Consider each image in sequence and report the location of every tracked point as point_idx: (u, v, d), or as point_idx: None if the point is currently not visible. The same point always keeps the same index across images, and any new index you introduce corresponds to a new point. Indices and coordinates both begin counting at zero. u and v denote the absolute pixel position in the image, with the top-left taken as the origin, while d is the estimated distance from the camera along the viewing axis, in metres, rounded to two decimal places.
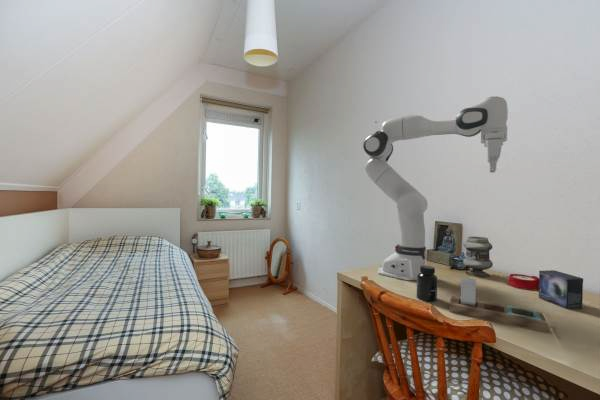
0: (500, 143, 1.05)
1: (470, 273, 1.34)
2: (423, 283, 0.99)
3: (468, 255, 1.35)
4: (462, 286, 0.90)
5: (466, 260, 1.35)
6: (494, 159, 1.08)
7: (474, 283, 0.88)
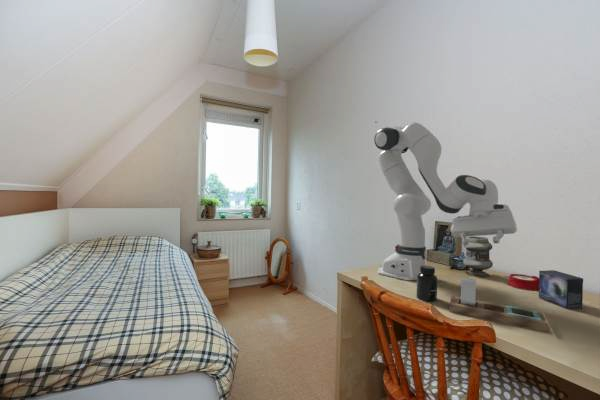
0: (515, 222, 0.97)
1: (470, 273, 1.34)
2: (423, 283, 0.99)
3: (468, 255, 1.35)
4: (462, 286, 0.90)
5: (466, 260, 1.35)
6: (502, 232, 0.95)
7: (474, 283, 0.88)
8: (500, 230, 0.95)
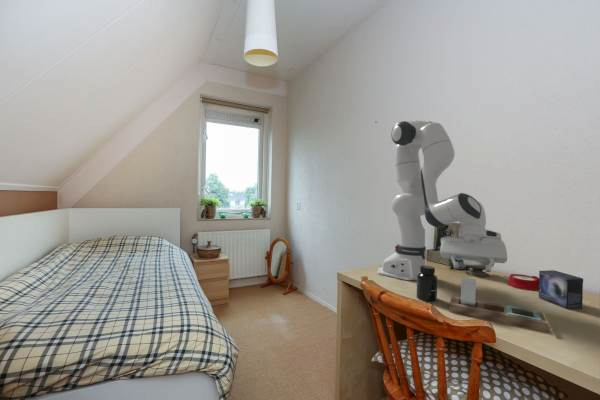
0: None
1: (470, 273, 1.34)
2: (423, 283, 0.99)
3: None
4: (462, 286, 0.90)
5: (466, 260, 1.35)
6: None
7: (474, 283, 0.88)
8: (493, 259, 0.94)
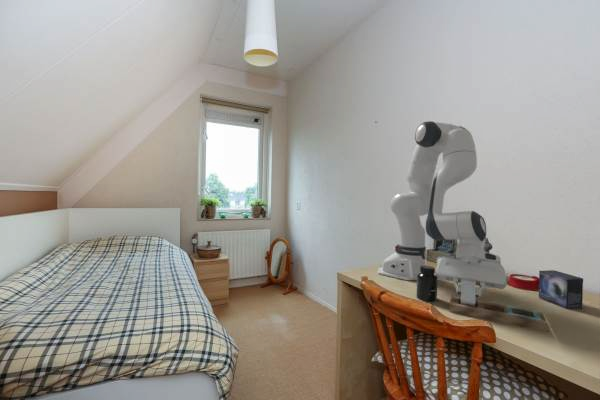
0: None
1: None
2: (423, 283, 0.99)
3: None
4: (462, 286, 0.90)
5: None
6: (485, 285, 0.90)
7: (474, 283, 0.88)
8: (483, 283, 0.90)
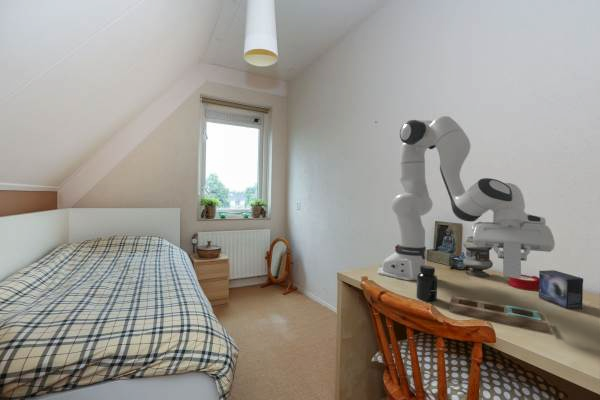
0: None
1: (470, 273, 1.34)
2: (423, 283, 0.99)
3: (468, 255, 1.35)
4: (505, 249, 0.83)
5: (466, 260, 1.35)
6: None
7: (519, 245, 0.82)
8: (528, 246, 0.83)
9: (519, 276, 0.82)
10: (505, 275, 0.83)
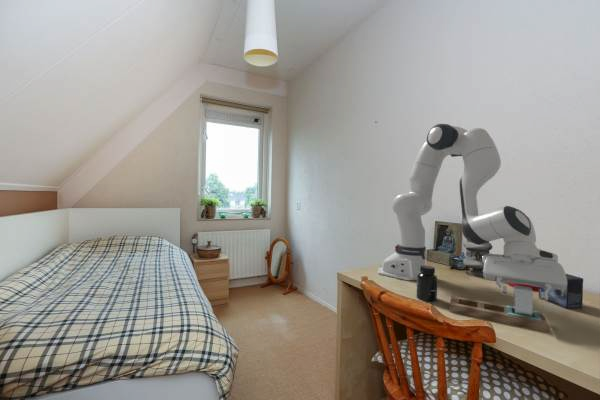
0: None
1: (470, 273, 1.34)
2: (423, 283, 0.99)
3: (468, 255, 1.35)
4: (517, 295, 0.82)
5: (466, 260, 1.35)
6: None
7: (531, 292, 0.81)
8: (549, 285, 0.81)
9: None
10: None
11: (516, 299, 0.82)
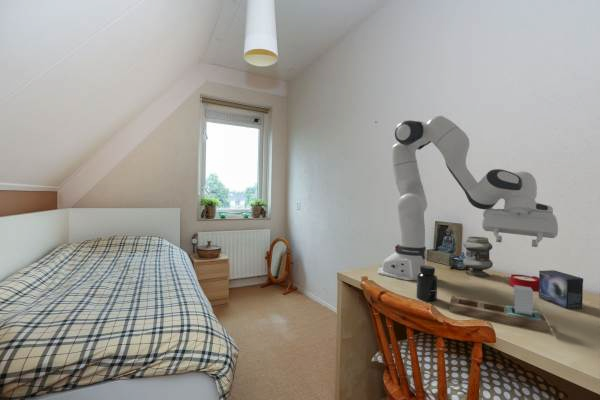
0: None
1: (470, 273, 1.34)
2: (423, 283, 0.99)
3: (468, 255, 1.35)
4: (517, 295, 0.82)
5: (466, 260, 1.35)
6: None
7: (531, 292, 0.81)
8: (541, 234, 0.90)
9: None
10: None
11: (516, 299, 0.82)
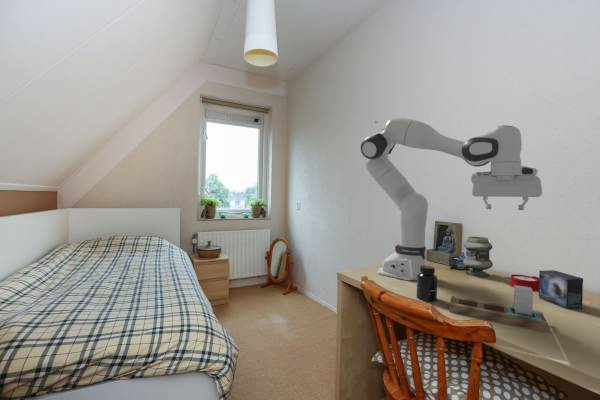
0: None
1: (470, 273, 1.34)
2: (423, 283, 0.99)
3: (468, 255, 1.35)
4: (517, 295, 0.82)
5: (466, 260, 1.35)
6: (527, 198, 0.97)
7: (531, 292, 0.81)
8: (526, 198, 0.96)
9: None
10: None
11: (516, 299, 0.82)
